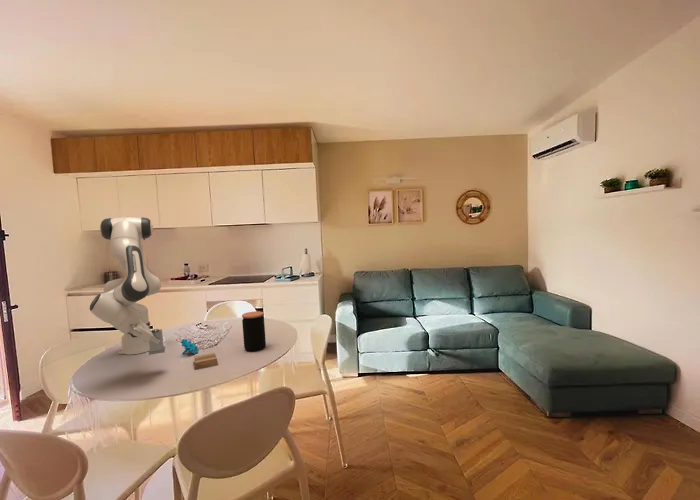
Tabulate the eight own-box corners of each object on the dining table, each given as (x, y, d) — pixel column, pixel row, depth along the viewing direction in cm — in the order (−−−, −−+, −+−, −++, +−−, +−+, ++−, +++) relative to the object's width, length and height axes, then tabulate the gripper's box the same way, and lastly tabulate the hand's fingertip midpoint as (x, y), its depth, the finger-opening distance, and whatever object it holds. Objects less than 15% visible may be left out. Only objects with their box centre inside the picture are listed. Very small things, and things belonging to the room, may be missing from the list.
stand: (193, 362, 166) (192, 356, 166) (216, 358, 170) (215, 352, 170) (194, 370, 157) (193, 363, 157) (218, 365, 161) (217, 358, 161)
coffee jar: (265, 343, 188) (262, 310, 186) (267, 350, 178) (264, 314, 176) (244, 347, 184) (241, 312, 183) (244, 353, 174) (242, 317, 173)
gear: (194, 353, 173) (179, 339, 174) (186, 362, 173) (171, 349, 173) (203, 348, 184) (189, 336, 185) (195, 357, 184) (181, 344, 184)
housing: (149, 351, 157) (147, 329, 156) (165, 348, 159) (163, 327, 159) (148, 355, 151) (146, 333, 151) (164, 352, 154) (162, 330, 153)
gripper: (137, 321, 142) (166, 339, 148) (133, 312, 159) (159, 329, 165) (125, 334, 140) (155, 352, 146) (122, 324, 156) (149, 341, 163)
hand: (157, 340), depth 156 cm, fingers closed on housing, 5 cm apart
